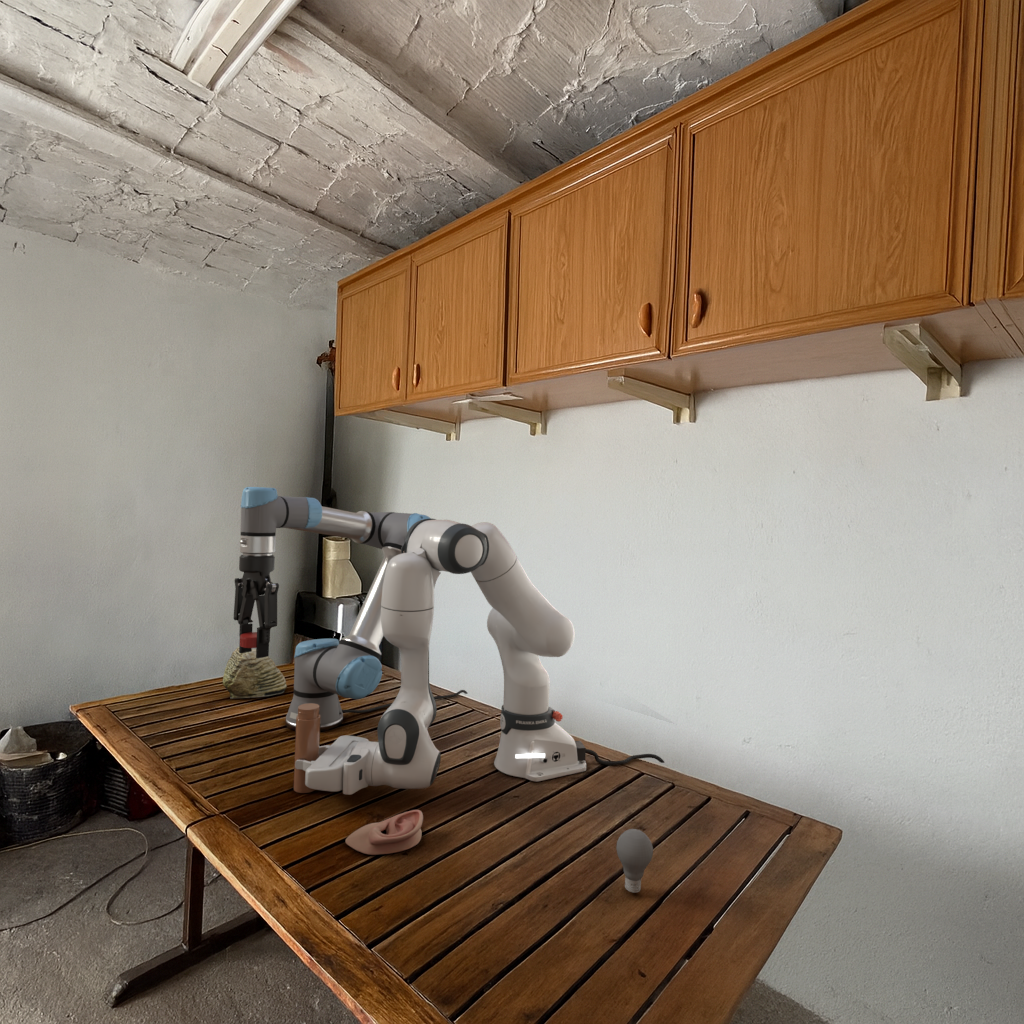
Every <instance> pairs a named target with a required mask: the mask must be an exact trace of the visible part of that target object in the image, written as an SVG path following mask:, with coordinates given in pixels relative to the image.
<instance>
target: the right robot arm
mask: <svg viewBox="0 0 1024 1024" xmlns="http://www.w3.org/2000/svg"><path fill="white" fill-rule="evenodd" d="M403 550H404V553H403ZM401 553H402V554H399V555H396V556H394V557H393V558H392V559H391V560H390V561H389V562H388V564H387V568H386V572H385V577H384V582H383V588H382V598H381V625H382V631H383V638H384V639H385V640H386V641H387V642H388V643H390V644H391V645H392V646H394V647H397V648H398V650H399V654H400V687H399V691H398V693H397V695H396V697H395V698H394V700H393V702H391V703H392V704H391V706H389V707H387V709H386V710H385V711H384V713H383V714H382V715H381V717H380V719H379V721H378V723H377V729H376V730H377V731H376V733H377V734H376V735H377V741H372V740H371V741H370V740H369V739H368V738H367V737H361V736H356V735H349V734H346V735H345V734H344V735H340V736H338V737H337V739H335V740H334V741H333V743H332V744H326V745H325V744H324V745H321V746H320V745H319V758H318V759H317V760H316V761H311V762H309V761H306V758H299V759H298V760H297V761H296V762H295V761H294V763H295V768H296V769H302V770H304V771H306V775H305V785H306V786H307V787H309V788H311V789H315V790H314V791H322V792H340V791H342V795H347V796H348V795H349V796H351V795H354V794H355V793H356V792H358V791H360V790H363V789H365V788H368V787H381V786H388V787H390V788H393V789H400V790H422V789H427V788H429V787H431V786H432V784H434V782H435V780H436V778H437V775H438V771H439V769H440V765H441V761H442V760H441V758H442V757H441V751H440V750H439V749H438V748H437V747H436V746H435V744H434V742H433V740H432V738H431V736H430V733H429V730H428V729H429V728H430V727H431V725H432V724H433V723H434V722H435V720H436V717H437V713H438V709H437V703H436V699H434V697H435V696H434V694H433V691H432V689H431V684H430V643H431V635H432V630H433V624H434V613H435V587H436V583H437V581H438V578H439V576H440V575H441V572H447V573H450V574H453V575H464V574H469V573H471V575H472V577H473V579H474V580H475V583H476V584H477V586H478V587H479V589H480V591H481V593H482V594H483V596H484V598H485V600H486V602H487V603H488V604H489V606H490V607H491V609H490V611H489V613H488V616H487V620H486V628H487V631H488V633H489V634H490V636H491V637H492V639H493V641H494V643H495V645H496V647H497V650H498V655H499V658H500V661H501V666H502V673H503V701H502V702H503V704H502V705H501V710H500V720H499V724H500V726H499V727H500V737H499V745H498V748H497V753H496V756H495V758H494V761H493V766H494V768H495V769H497V770H498V771H499V772H501V773H502V774H506V775H508V776H513V777H517V778H521V779H522V778H523V779H526V780H529V781H531V782H537V783H538V782H541V781H546V780H551V779H555V778H560V777H565V776H570V775H574V774H578V773H583V772H586V771H587V762H586V754H590V755H592V756H593V758H594V760H595V762H596V763H598V764H600V765H604V766H619V765H620V766H622V765H625V764H628V763H630V762H631V761H633V760H640V759H654V760H657V761H658V762H659V763H661V764H664V763H665V760H664V759H663V758H662V757H661V756H659V755H657V754H653V753H642V754H633V755H630V756H628V757H627V758H625V759H622V760H613V761H606V760H602V759H601V758H599V754H598V753H597V752H596V751H594V750H592V749H588V748H587V747H586V746H585V745H584V744H583V742H582V741H581V740H575V739H574V737H573V736H572V735H571V734H570V733H569V732H568V731H566V730H565V729H564V728H563V727H562V726H560V725H559V724H558V723H557V722H562V720H563V718H564V715H563V714H562V713H561V712H560V711H558V710H555V709H554V708H553V707H551V706H549V704H550V687H551V685H550V684H551V679H550V675H549V673H548V671H547V670H546V668H545V667H544V666H543V664H542V662H541V659H540V657H544V658H560V657H563V656H565V655H566V654H567V653H568V652H569V651H570V650H571V648H572V647H573V645H574V642H575V638H576V636H575V635H576V634H575V631H576V630H575V627H574V624H573V622H572V621H571V620H570V618H569V617H567V616H565V614H563V613H561V612H560V611H559V610H558V609H556V607H554V606H553V604H551V602H550V601H549V600H548V599H547V598H546V597H545V596H544V594H542V592H541V591H540V590H539V589H538V587H536V586H535V584H534V583H533V582H532V580H531V579H530V578H529V576H528V574H527V572H526V571H525V569H524V567H523V564H522V563H521V561H520V560H519V558H518V556H517V554H516V552H515V551H514V548H513V547H512V545H511V544H510V542H509V541H508V540H507V538H506V537H505V535H503V533H502V532H501V531H500V529H499V528H498V527H497V526H496V525H495V524H493V523H491V522H488V521H483V522H477V523H474V524H473V525H470V524H467V523H461V522H458V521H455V520H451V519H436V518H431V519H423V520H420V521H418V522H416V523H414V524H413V525H412V526H411V527H410V529H409V530H408V532H407V534H406V537H405V541H404V544H403V546H402V548H401ZM555 721H556V722H555Z"/></svg>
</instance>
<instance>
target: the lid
mask: <svg viewBox="0 0 1024 1024" xmlns="http://www.w3.org/2000/svg"><path fill="white" fill-rule="evenodd" d="M239 643H240V646H241V647H244V648H252V649H256V644H257V631H252V632H250V633H244V634H241V635H240V636H239Z"/></svg>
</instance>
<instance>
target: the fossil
mask: <svg viewBox="0 0 1024 1024" xmlns="http://www.w3.org/2000/svg"><path fill="white" fill-rule="evenodd" d="M222 676H223V677H222V685H223V687H224V688H225V690H226V691H228V693H229V698H230V699H250V698H264V697H271V696H275V695H281V694H284V693H285V691H286V689H287V687H288V686H287V680H286V678H285V676H284V674H283V673H282V672H281V669H279V668H278V667H277V665H276V663H275V662H274V660H273V659H272V658H271V657H270V655H269V656H268V657H263V658H256V648H252V652H246V653H239V646H238V647H237V648H236V649H235V650H233V651H232V653H231V656H230V657H229V659H228V660H227V663H226V666H225V668H224V671H223V675H222Z"/></svg>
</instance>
